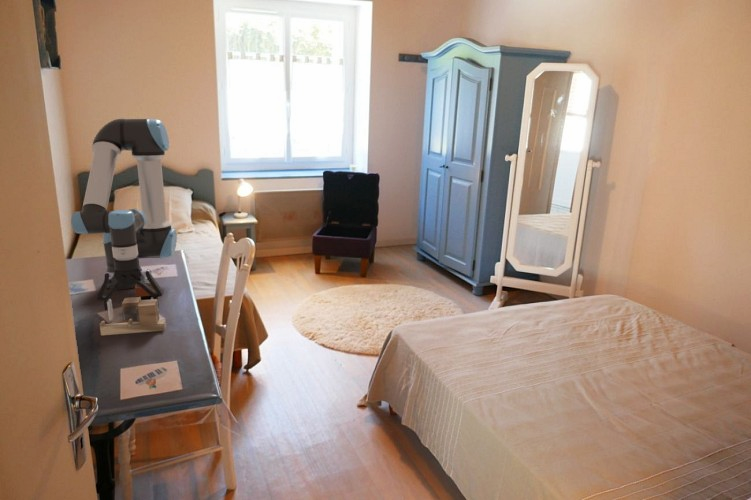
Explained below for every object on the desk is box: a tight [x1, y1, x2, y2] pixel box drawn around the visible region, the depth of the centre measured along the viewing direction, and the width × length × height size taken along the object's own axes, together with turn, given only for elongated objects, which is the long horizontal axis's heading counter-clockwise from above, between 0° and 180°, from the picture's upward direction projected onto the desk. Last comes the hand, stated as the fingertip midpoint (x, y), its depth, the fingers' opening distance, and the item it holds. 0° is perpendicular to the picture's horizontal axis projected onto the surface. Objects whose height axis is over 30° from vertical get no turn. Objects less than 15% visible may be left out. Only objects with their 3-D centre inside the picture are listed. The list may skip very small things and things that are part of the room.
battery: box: [134, 281, 160, 308], centre depth 184 cm, size 4×7×10 cm, turn 111°
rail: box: [99, 299, 167, 336], centre depth 167 cm, size 5×19×10 cm, turn 104°
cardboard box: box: [121, 296, 141, 323], centre depth 175 cm, size 5×6×7 cm
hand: (133, 317), depth 176 cm, fingers open, 13 cm apart
